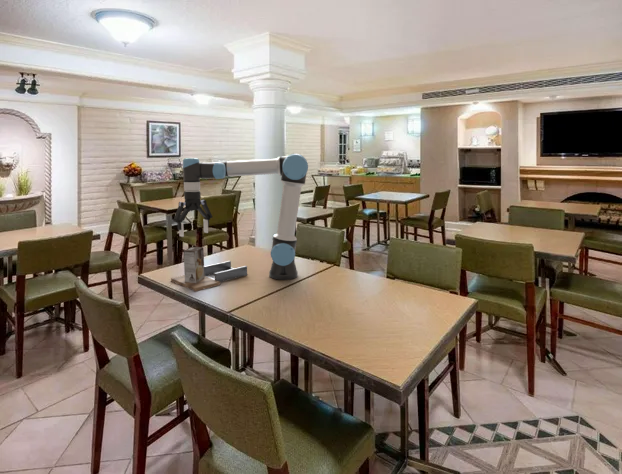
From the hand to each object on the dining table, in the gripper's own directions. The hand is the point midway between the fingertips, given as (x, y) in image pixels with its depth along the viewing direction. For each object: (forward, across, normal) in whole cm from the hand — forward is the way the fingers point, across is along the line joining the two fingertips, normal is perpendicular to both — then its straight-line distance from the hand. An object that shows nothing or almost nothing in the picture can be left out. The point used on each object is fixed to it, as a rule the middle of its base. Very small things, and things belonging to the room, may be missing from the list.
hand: (194, 234), depth 202 cm
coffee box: (+23, +1, 0) cm, 23 cm away
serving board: (+25, 0, 0) cm, 25 cm away
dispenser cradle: (+25, -17, 0) cm, 30 cm away
